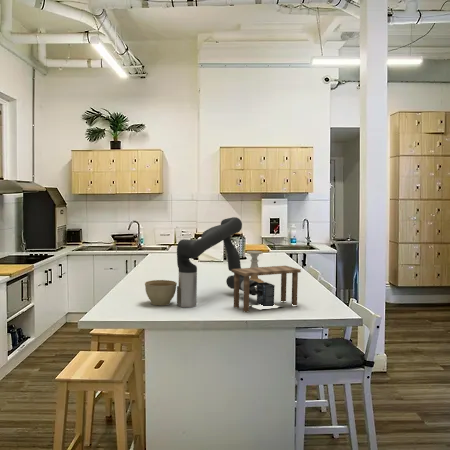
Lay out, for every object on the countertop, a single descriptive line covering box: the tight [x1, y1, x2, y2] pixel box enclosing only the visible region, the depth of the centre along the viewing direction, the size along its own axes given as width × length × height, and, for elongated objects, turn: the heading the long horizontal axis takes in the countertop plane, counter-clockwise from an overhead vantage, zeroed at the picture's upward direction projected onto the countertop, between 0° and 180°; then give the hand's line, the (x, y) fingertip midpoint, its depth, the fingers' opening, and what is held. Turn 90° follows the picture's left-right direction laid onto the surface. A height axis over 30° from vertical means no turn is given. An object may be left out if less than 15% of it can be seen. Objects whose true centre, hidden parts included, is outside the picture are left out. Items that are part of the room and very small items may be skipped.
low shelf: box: [230, 265, 302, 313], centre depth 254 cm, size 32×14×19 cm, turn 117°
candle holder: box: [246, 250, 265, 283], centre depth 318 cm, size 12×12×20 cm
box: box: [256, 281, 276, 306], centre depth 255 cm, size 8×6×11 cm
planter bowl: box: [144, 279, 178, 306], centre depth 258 cm, size 16×16×11 cm
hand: (267, 293), depth 253 cm, fingers closed on box, 5 cm apart
